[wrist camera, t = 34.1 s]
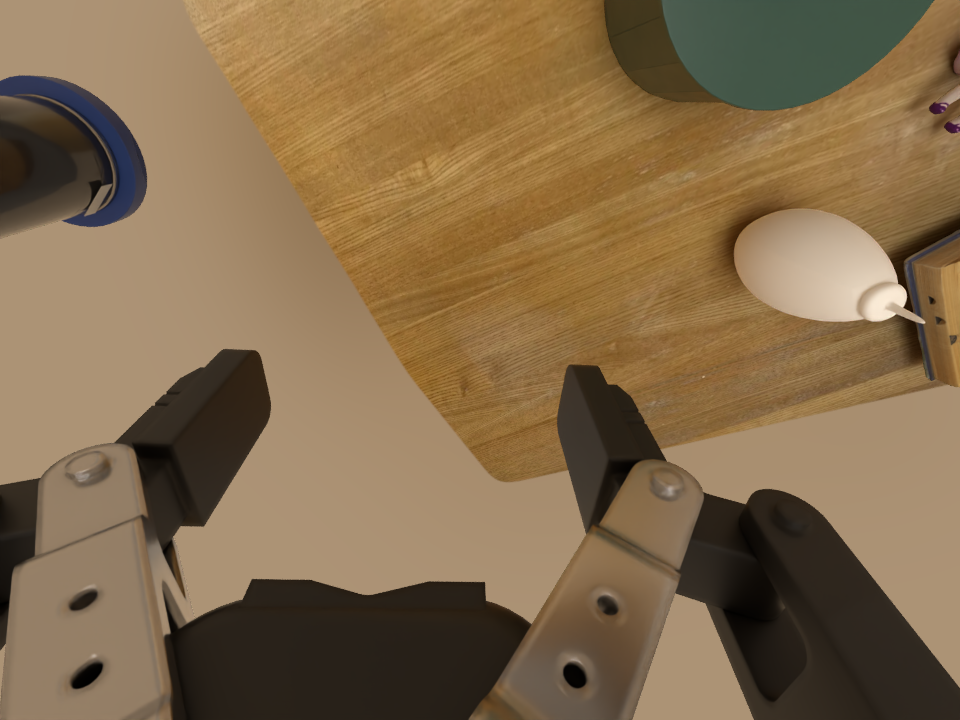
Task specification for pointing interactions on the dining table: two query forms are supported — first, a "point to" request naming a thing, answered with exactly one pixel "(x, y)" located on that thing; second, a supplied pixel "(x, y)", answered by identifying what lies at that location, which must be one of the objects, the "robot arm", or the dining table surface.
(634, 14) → the pot
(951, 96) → the figurine
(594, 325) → the dining table surface
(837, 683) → the robot arm
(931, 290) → the book
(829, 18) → the lid
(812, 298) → the white rubber bulb blower
